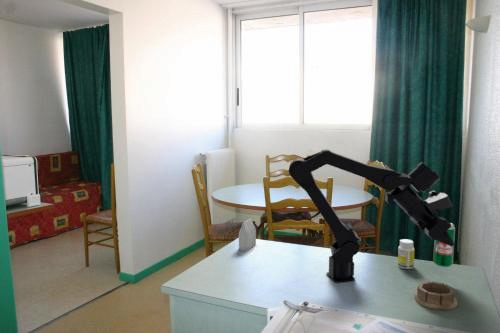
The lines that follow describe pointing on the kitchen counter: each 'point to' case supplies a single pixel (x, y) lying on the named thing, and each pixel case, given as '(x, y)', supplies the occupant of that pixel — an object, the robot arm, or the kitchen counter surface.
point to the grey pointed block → (247, 235)
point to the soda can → (444, 250)
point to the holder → (436, 296)
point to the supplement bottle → (406, 254)
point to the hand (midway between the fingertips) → (449, 242)
